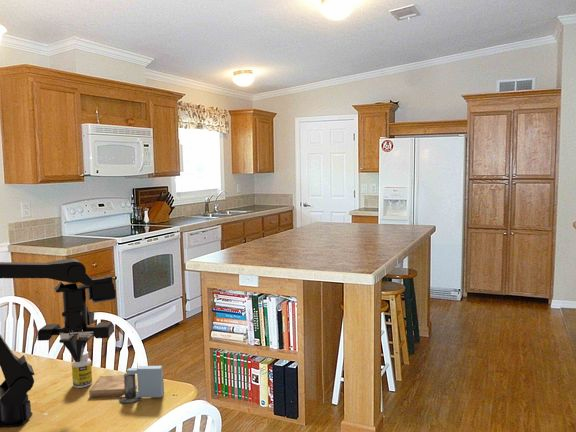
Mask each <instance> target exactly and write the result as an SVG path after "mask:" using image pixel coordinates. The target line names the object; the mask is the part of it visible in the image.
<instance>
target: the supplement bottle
mask: <svg viewBox="0 0 576 432" xmlns="http://www.w3.org/2000/svg"><path fill="white" fill-rule="evenodd" d="M71 371H72V375H71V377H72V386H73V387H74V388H77V389H82V388H86V387H88V386H90V385H92V384H93V371H92V360H91V359H90V356H89V351H87V350H84V352H83V355H82V359H81V361H80V362H75V360H74V359H73V361H72V362H71Z"/></svg>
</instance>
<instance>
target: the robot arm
mask: <svg viewBox="0 0 576 432" xmlns="http://www.w3.org/2000/svg"><path fill="white" fill-rule="evenodd" d="M86 270H87V268H86V266H85V265H84V264H83V263H82V262H80V260H78V259H75V258H65V259H60V260H54V261H49V262H19V261H17V262H15V261H14V262H12V261H11V262H10V261H7V262H5V261H3V262H2V261H1V262H0V279H49V280H54V281H59V282H58V284H57V285H56V286H55V287H54V288H53V289H54V291H55V292H56V293H61V294H62V305H63V308H62V309H63V312H61V315H62V316H61V317H63V320H64V321H63V323H64V326H63V327H61V325H60V324H59V323H53V324H52V323H51V324H50V323H47V324H45V325H44V326H42V327H41V328H40V329H38V331H37V334H36V337H37V339H36V340H37V341H38V342H39V341H50V340H51V339H52V338H53V336H59V338H60V339H59V340H58V342H59V343H60V344H63V345H64V346H65V348H66V349H67V350H68V351H69V353H70V356H71V357H72V358H73V361H74V360H75V362H80V361H81V359H82V355H83V352H84V351H85V348H86V345H87V343H88V341H90V339H92V338H93V337H94V338H95V339H107V338H110V337H111V336H112V335H113V333H115V325H114V323H113V322H112V321H108V322H106V321H105V322H104V321H103V322H98V323H97V324H96V325H95V326H91V325H93V324H94V323H95V312H94V311H89V306H88V305H87V300H88V301H91V302H92V303H93V304H95V303H103V302H109V301H115V300H116V294H117V293H116V291H117V290H116V288H115V283H114V281H113V277H112V276H111V275H106V276H103V277H97V278H92V277H91V276H90V275H89V274H87V271H86ZM77 283H80V284H79V285H77ZM78 336H79V337H78ZM0 368H1V372H2V374H3V377H4V381H3V382H1V384H0V428H6V427H8V428H9V427H20V426H21V427H22V426H23V425H24V424H25V423H26V422H27V421H28V420H29V419H30V417H32V415H33V412H32V408H31V406H32V405H31V400H29V394H28V392H30V391H31V390H32V388H33V387H34V384H35V378H34V376H35V372H34V369H33V366H32V365H31V364H29V363H28V361H27V359H26V356H25V354H24V355H22V356H21V357H19V356H17V355H15V353H13V351H12V349H11V348H10V346H9V345H8V344H7V342H6V341H5V339H4V338H3V337H2V335H1V334H0Z"/></svg>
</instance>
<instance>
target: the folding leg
mask: <svg viewBox="0 0 576 432" xmlns="http://www.w3.org/2000/svg"><path fill="white" fill-rule="evenodd" d="M126 373H127V374H135V375H136V378H137V379H136V380H137V392H138V397H142V398H162V397H163V395H164V394H163V382H164V375H163V365H139V366H138V367H129V368H127V370H126Z"/></svg>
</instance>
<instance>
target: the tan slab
mask: <svg viewBox="0 0 576 432" xmlns="http://www.w3.org/2000/svg"><path fill="white" fill-rule="evenodd" d="M136 384H137V383H136V374H127V372H126V373H124V374H117V375H114V374H113V375H99V377H98V378H97V380H96V381H95V382H94V383H93V385H92V387H90V389H89V390H88V392H89V393H88V394H89V395H88V396H89V398H101V397H103V398H105V397H119V402H120V403H121V404H133V403H137V402H138V401H140V400H142V398H143V397H138V391H137V390H138V384H137V385H136Z"/></svg>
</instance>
